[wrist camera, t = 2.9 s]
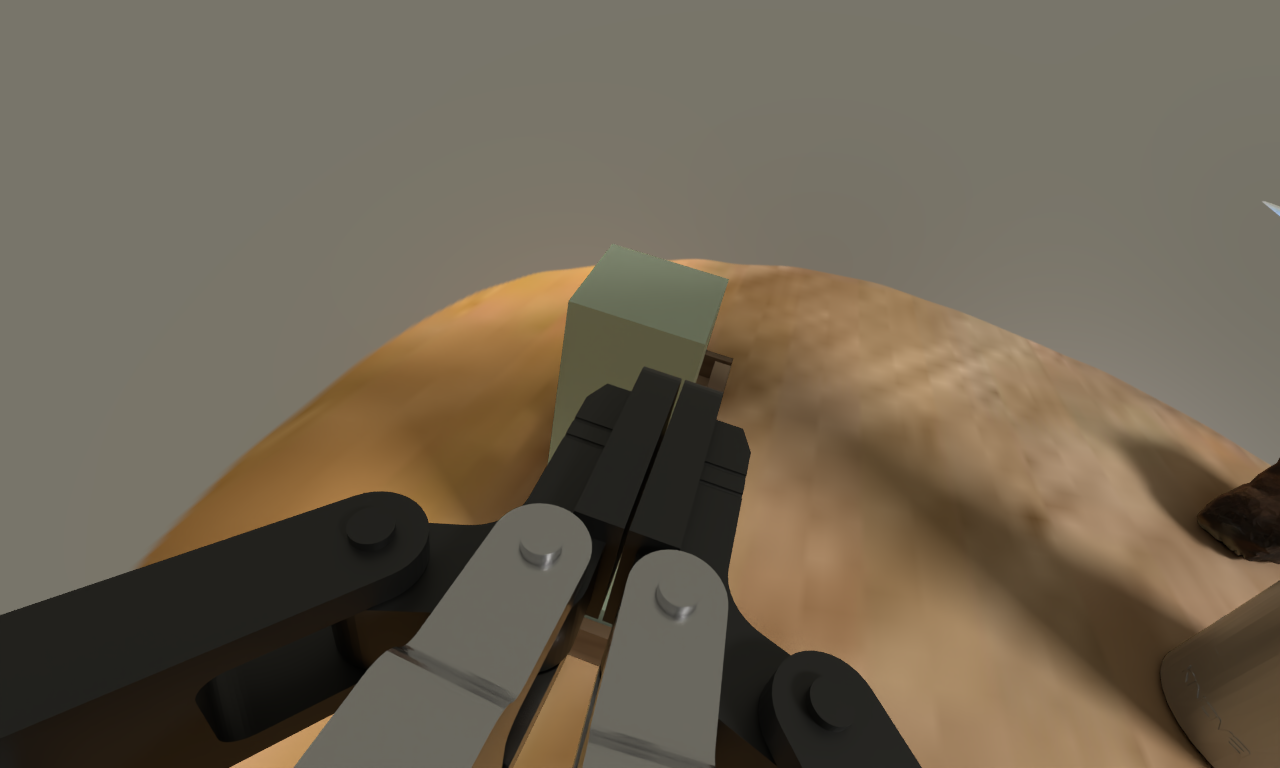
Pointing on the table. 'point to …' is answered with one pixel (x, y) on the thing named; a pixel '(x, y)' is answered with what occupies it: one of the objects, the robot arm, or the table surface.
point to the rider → (633, 331)
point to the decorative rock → (1248, 517)
